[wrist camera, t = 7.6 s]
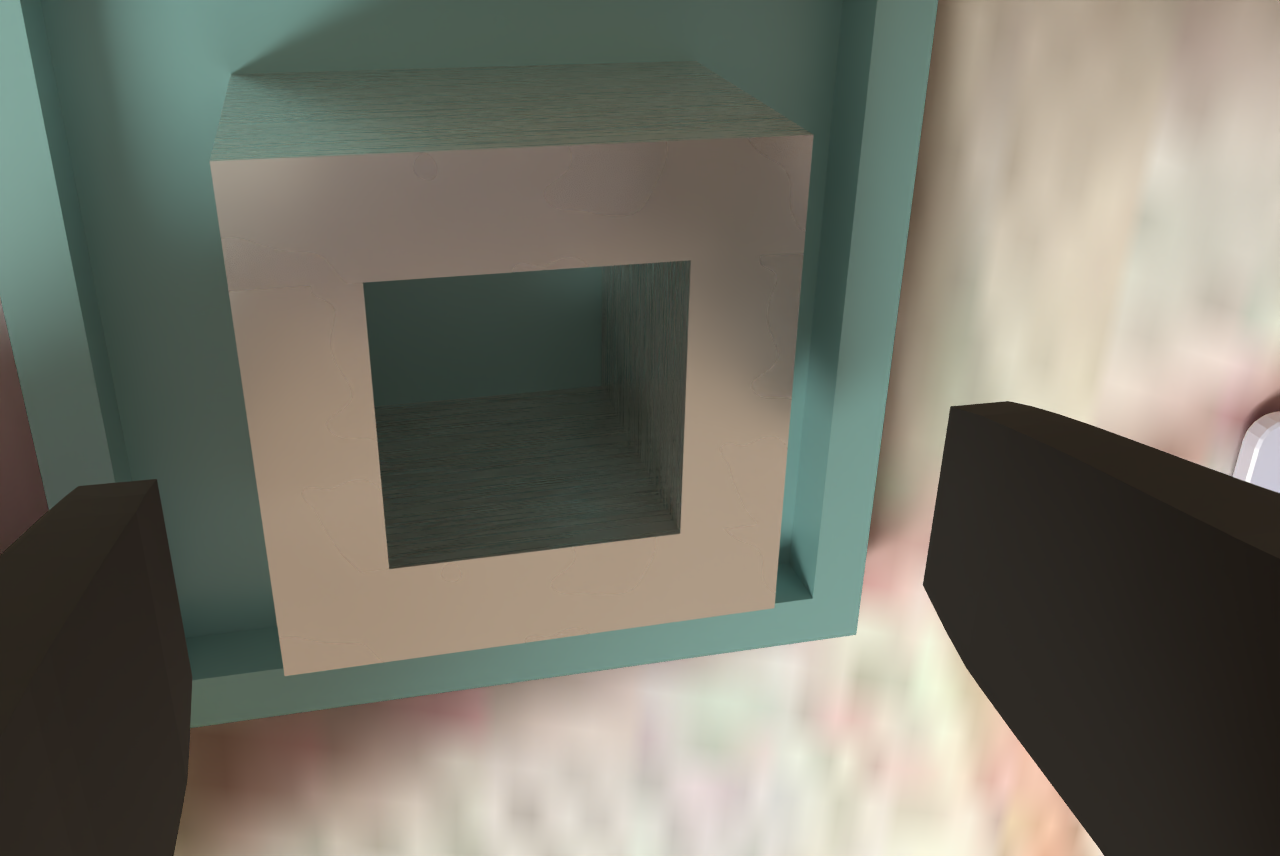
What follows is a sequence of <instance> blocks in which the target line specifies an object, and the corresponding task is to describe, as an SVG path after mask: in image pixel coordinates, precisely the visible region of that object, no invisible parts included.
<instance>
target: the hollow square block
mask: <svg viewBox="0 0 1280 856" xmlns="http://www.w3.org/2000/svg"><path fill="white" fill-rule="evenodd" d="M812 147H813V134H812V133H810V132H808V131H807V130H805V129H804V128H802V127H800V126H799V125H797V124H796V123H794V122H792V121H791V120H789V119H788V118H786V117H784V116H783V115H781V114H780V113H778V112H776V111H775V110H773V109H772V108H770V107H769V106H767V105H765V104H764V103H762V102H761V101H759V100H757V99H756V98H754V97H753V96H751V95H749V94H748V93H746V92H745V91H743V90H741V89H740V88H738V87H737V86H735V85H733V84H732V83H730V82H729V81H727V80H725V79H724V78H722V77H721V76H719V75H717V74H716V73H714V72H713V71H711V70H709V69H708V68H706V67H705V66H703V65H701V64H700V63H698V62H697V61H674V62H639V63H604V64H569V65H533V66H498V67H463V68H428V69H393V70H358V71H323V72H288V73H252V74H231V75H230V79H229V83H228V88H227V92H226V96H225V100H224V104H223V108H222V112H221V117H220V121H219V125H218V129H217V133H216V137H215V141H214V145H213V150H212V154H211V158H210V167H211V174H212V181H213V188H214V194H215V201H216V208H217V215H218V222H219V229H220V236H221V242H222V249H223V256H224V263H225V270H226V277H227V284H228V291H229V297H230V304H231V311H232V318H233V325H234V332H235V339H236V346H237V352H238V359H239V366H240V373H241V380H242V387H243V394H244V400H245V407H246V414H247V421H248V428H249V435H250V442H251V449H252V455H253V462H254V469H255V476H256V483H257V490H258V497H259V503H260V510H261V517H262V524H263V531H264V538H265V545H266V552H267V558H268V565H269V572H270V579H271V586H272V593H273V600H274V607H275V613H276V620H277V627H278V634H279V641H280V648H281V655H282V661H283V668H284V675H285V676H290V675H297V674H304V673H312V672H319V671H326V670H333V669H340V668H348V667H355V666H362V665H369V664H376V663H384V662H391V661H398V660H405V659H412V658H420V657H427V656H434V655H441V654H448V653H455V652H463V651H470V650H477V649H484V648H491V647H499V646H506V645H513V644H520V643H527V642H535V641H542V640H549V639H556V638H563V637H571V636H578V635H585V634H592V633H599V632H607V631H614V630H621V629H628V628H635V627H643V626H650V625H657V624H664V623H671V622H679V621H686V620H693V619H700V618H707V617H714V616H722V615H729V614H736V613H743V612H750V611H758V610H765V609H772V608H774V607H775V595H776V583H777V571H778V558H779V546H780V534H781V522H782V510H783V498H784V486H785V474H786V462H787V450H788V437H789V425H790V413H791V401H792V389H793V377H794V365H795V353H796V341H797V329H798V316H799V304H800V292H801V280H802V268H803V256H804V244H805V232H806V220H807V208H808V195H809V183H810V171H811V159H812ZM599 266H602V386H596V387H585V388H574V389H563V390H552V391H541V392H531V393H520V394H509V395H498V396H487V397H476V398H465V399H454V400H443V401H432V402H421V403H410V404H399V405H388V406H377V407H374V398H373V387H372V376H371V366H370V355H369V344H368V333H367V322H366V311H365V300H364V289H363V282H378V281H393V280H408V279H422V278H437V277H452V276H467V275H481V274H496V273H511V272H525V271H540V270H555V269H570V268H584V267H599Z"/></svg>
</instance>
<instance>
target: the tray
mask: <svg viewBox="0 0 1280 856" xmlns="http://www.w3.org/2000/svg"><path fill="white" fill-rule="evenodd" d="M937 6H938V0H0V298H1V303H2V307H3V312H4V316H5V320H6V325H7V329H8V333H9V338H10V342H11V346H12V351H13V355H14V360H15V364H16V368H17V373H18V377H19V381H20V386H21V390H22V395H23V399H24V403H25V408H26V412H27V416H28V421H29V425H30V430H31V434H32V438H33V443H34V447H35V451H36V456H37V460H38V464H39V469H40V473H41V478H42V482H43V486H44V491H45V495H46V499H47V504H48V508H49V510H50V509H51V508H52V507H54V506H55V505H56V504H57V503H58V502H59V501H60V500H61V499H63V498H64V497H65V496H66V495H67V494H69V493H70V492H71V491H73V490H74V489H75V488H76V487H78V486H84V485H95V484H106V483H117V482H128V481H139V480H150V479H157V482H158V488H159V493H160V499H161V504H162V510H163V516H164V521H165V527H166V532H167V538H168V544H169V549H170V555H171V560H172V566H173V572H174V577H175V583H176V588H177V594H178V600H179V605H180V611H181V616H182V622H183V628H184V633H185V639H186V644H187V650H188V656H189V661H190V667H191V672H192V700H191V723H190V728H195V727H202V726H209V725H216V724H224V723H231V722H238V721H245V720H252V719H259V718H266V717H273V716H281V715H288V714H295V713H302V712H309V711H316V710H323V709H330V708H337V707H345V706H352V705H359V704H366V703H373V702H380V701H387V700H394V699H402V698H409V697H416V696H423V695H430V694H437V693H444V692H451V691H458V690H466V689H473V688H480V687H487V686H494V685H501V684H508V683H515V682H522V681H530V680H537V679H544V678H551V677H558V676H565V675H572V674H579V673H587V672H594V671H601V670H608V669H615V668H622V667H629V666H636V665H643V664H651V663H658V662H665V661H672V660H679V659H686V658H693V657H700V656H707V655H715V654H722V653H729V652H736V651H743V650H750V649H757V648H764V647H772V646H779V645H786V644H793V643H800V642H807V641H814V640H821V639H828V638H836V637H843V636H850V635H856V631H857V624H858V616H859V608H860V600H861V593H862V585H863V577H864V570H865V562H866V554H867V546H868V539H869V531H870V523H871V515H872V508H873V500H874V492H875V485H876V477H877V469H878V461H879V454H880V446H881V438H882V431H883V423H884V415H885V407H886V400H887V392H888V384H889V376H890V369H891V361H892V353H893V346H894V338H895V330H896V322H897V315H898V307H899V299H900V291H901V284H902V276H903V268H904V261H905V253H906V245H907V237H908V230H909V222H910V214H911V207H912V199H913V191H914V183H915V176H916V168H917V160H918V152H919V145H920V137H921V129H922V122H923V114H924V106H925V98H926V91H927V83H928V75H929V67H930V60H931V52H932V44H933V37H934V29H935V21H936V13H937ZM674 61H697V62H698V63H700V64H701V65H703V66H705V67H706V68H708V69H709V70H711V71H713V72H714V73H716V74H717V75H719V76H721V77H722V78H724V79H725V80H727V81H729V82H730V83H732V84H733V85H735V86H737V87H738V88H740V89H741V90H743V91H745V92H746V93H748V94H749V95H751V96H753V97H754V98H756V99H757V100H759V101H761V102H762V103H764V104H765V105H767V106H769V107H770V108H772V109H773V110H775V111H776V112H778V113H780V114H781V115H783V116H784V117H786V118H788V119H789V120H791V121H792V122H794V123H796V124H797V125H799V126H800V127H802V128H804V129H805V130H807V131H808V132H810V133H812V134H813V147H812V159H811V171H810V183H809V195H808V208H807V220H806V232H805V244H804V256H803V268H802V280H801V292H800V304H799V316H798V329H797V341H796V353H795V365H794V377H793V389H792V401H791V413H790V425H789V437H788V450H787V462H786V474H785V486H784V498H783V510H782V522H781V534H780V546H779V558H778V571H777V583H776V595H775V607H774V608H772V609H765V610H758V611H750V612H743V613H736V614H729V615H722V616H714V617H707V618H700V619H693V620H686V621H679V622H671V623H664V624H657V625H650V626H643V627H635V628H628V629H621V630H614V631H607V632H599V633H592V634H585V635H578V636H571V637H563V638H556V639H549V640H542V641H535V642H527V643H520V644H513V645H506V646H499V647H491V648H484V649H477V650H470V651H463V652H455V653H448V654H441V655H434V656H427V657H420V658H412V659H405V660H398V661H391V662H384V663H376V664H369V665H362V666H355V667H348V668H340V669H333V670H326V671H319V672H312V673H304V674H297V675H290V676H285V675H284V668H283V661H282V655H281V648H280V641H279V634H278V627H277V620H276V613H275V607H274V600H273V593H272V586H271V579H270V572H269V565H268V558H267V552H266V545H265V538H264V531H263V524H262V517H261V510H260V503H259V497H258V490H257V483H256V476H255V469H254V462H253V455H252V449H251V442H250V435H249V428H248V421H247V414H246V407H245V400H244V394H243V387H242V380H241V373H240V366H239V359H238V352H237V346H236V339H235V332H234V325H233V318H232V311H231V304H230V297H229V291H228V284H227V277H226V270H225V263H224V256H223V249H222V242H221V236H220V229H219V222H218V215H217V208H216V201H215V194H214V188H213V181H212V174H211V167H210V158H211V154H212V150H213V145H214V141H215V137H216V133H217V129H218V125H219V121H220V117H221V112H222V108H223V104H224V100H225V96H226V92H227V88H228V83H229V79H230V75H231V74H252V73H288V72H323V71H358V70H393V69H428V68H463V67H498V66H533V65H569V64H604V63H639V62H674ZM363 289H364V300H365V311H366V322H367V333H368V344H369V355H370V366H371V376H372V387H373V398H374V407H377V406H388V405H399V404H410V403H421V402H432V401H443V400H454V399H465V398H476V397H487V396H498V395H509V394H520V393H531V392H541V391H552V390H563V389H574V388H585V387H596V386H602V266H599V267H584V268H570V269H555V270H540V271H525V272H511V273H496V274H481V275H467V276H452V277H437V278H422V279H408V280H393V281H378V282H363Z"/></svg>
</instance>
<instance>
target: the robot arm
mask: <svg viewBox="0 0 1280 856" xmlns="http://www.w3.org/2000/svg"><path fill="white" fill-rule="evenodd" d="M923 586H924V588H925V590H926V592H927V594H928V596H929V598H930V600H931V602H932V604H933V606H934V608H935V610H936V612H937V614H938V616H939V618H940V620H941V622H942V624H943V626H944V628H945V630H946V632H947V634H948V636H949V637H950V639H951V641H952V643H953V645H954V646H955V648H956V650H957V652H958V654H959V655H960V657H961V659H962V661H963V663H964V664H965V666H966V668H967V669H968V671H969V672H970V674H971V675H972V677H973V678H974V679H975V681H976V682H977V684H978V685H979V687H980V688H981V689H982V691H983V692H984V693H985V695H986V696H987V698H988V699H989V700H990V702H991V703H992V704H993V706H994V707H995V709H996V710H997V711H998V713H999V714H1000V715H1001V717H1002V718H1003V720H1004V721H1005V722H1006V724H1007V725H1008V726H1009V728H1010V729H1011V731H1012V732H1013V733H1014V735H1015V736H1016V737H1017V739H1018V740H1019V741H1020V743H1021V744H1022V745H1023V747H1024V748H1025V749H1026V751H1027V752H1028V753H1029V755H1030V756H1031V757H1032V759H1033V760H1034V761H1035V763H1036V764H1037V765H1038V767H1039V768H1040V769H1041V771H1042V772H1043V773H1044V775H1045V776H1046V777H1047V779H1048V780H1049V782H1050V783H1051V784H1052V786H1053V787H1054V788H1055V790H1056V791H1057V792H1058V794H1059V795H1060V796H1061V798H1062V799H1063V800H1064V802H1065V803H1066V804H1067V806H1068V807H1069V808H1070V810H1071V811H1072V812H1073V814H1074V815H1075V816H1076V818H1077V819H1078V820H1079V822H1080V823H1081V824H1082V826H1083V827H1084V828H1085V830H1086V831H1087V832H1088V834H1089V835H1090V837H1091V838H1092V839H1093V841H1094V842H1095V843H1096V845H1097V846H1098V847H1099V849H1100V850H1101V852H1102V853H1103V855H1104V856H1280V411H1278V412H1273V413H1269V414H1266V415H1264V416H1262V417H1261V418H1259V419H1258V420H1256V421H1255V422H1254V423H1253V424H1252V425H1251V426H1250V427H1249V429H1248V430H1247V432H1246V434H1245V436H1244V438H1243V442H1242V445H1241V449H1240V452H1239V456H1238V459H1237V463H1236V466H1235V470H1234V473H1233V477H1232V476H1229V475H1226V474H1223V473H1220V472H1218V471H1215V470H1212V469H1209V468H1207V467H1204V466H1201V465H1198V464H1196V463H1193V462H1190V461H1187V460H1185V459H1182V458H1179V457H1177V456H1174V455H1171V454H1168V453H1166V452H1163V451H1160V450H1158V449H1155V448H1152V447H1150V446H1147V445H1144V444H1141V443H1139V442H1136V441H1133V440H1130V439H1128V438H1125V437H1122V436H1120V435H1117V434H1114V433H1111V432H1109V431H1106V430H1103V429H1100V428H1098V427H1095V426H1092V425H1089V424H1086V423H1083V422H1080V421H1077V420H1074V419H1071V418H1068V417H1065V416H1062V415H1059V414H1056V413H1053V412H1049V411H1046V410H1043V409H1039V408H1035V407H1032V406H1028V405H1023V404H1018V403H1014V402H1009V401H1006V402H995V403H984V404H973V405H962V406H951V407H950V414H949V420H948V426H947V433H946V439H945V446H944V452H943V459H942V465H941V472H940V478H939V485H938V491H937V498H936V504H935V511H934V517H933V523H932V530H931V536H930V543H929V549H928V556H927V562H926V569H925V575H924V582H923ZM191 700H192V672H191V667H190V661H189V656H188V650H187V644H186V639H185V633H184V628H183V622H182V616H181V611H180V605H179V600H178V594H177V588H176V583H175V577H174V572H173V566H172V560H171V555H170V549H169V544H168V538H167V532H166V527H165V521H164V516H163V510H162V504H161V499H160V493H159V488H158V482H157V479H150V480H139V481H128V482H117V483H106V484H95V485H84V486H78V487H76V488H75V489H74V490H73V491H71V492H70V493H69V494H67V495H66V496H65V497H64V498H63V499H61V500H60V501H59V502H58V503H57V504H56V505H55V506H54V507H52V508H51V509H50V510H49V511H48V512H47V513H46V514H45V515H44V516H42V517H41V518H40V519H39V520H38V521H37V522H36V523H35V524H34V525H33V526H32V527H30V528H29V529H28V530H27V531H26V532H25V533H24V534H23V535H22V536H21V537H20V538H19V539H17V540H16V541H15V542H14V543H13V544H12V545H11V546H10V547H9V548H8V549H7V550H5V551H4V552H3V553H2V554H1V555H0V856H173V855H174V850H175V844H176V839H177V834H178V828H179V823H180V818H181V812H182V807H183V801H184V796H185V790H186V785H187V776H188V759H189V743H190V723H191Z"/></svg>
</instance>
